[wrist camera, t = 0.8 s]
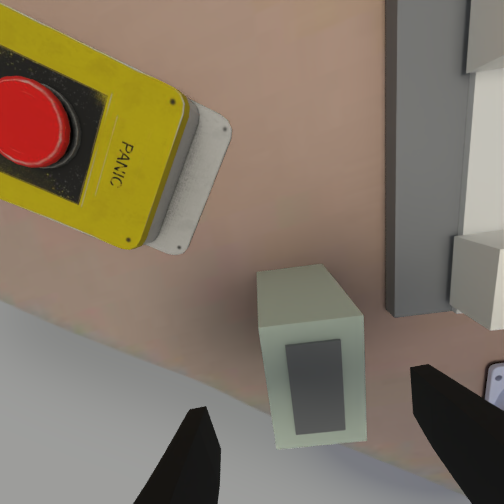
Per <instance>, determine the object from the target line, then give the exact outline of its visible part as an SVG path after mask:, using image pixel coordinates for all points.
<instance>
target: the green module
mask: <svg viewBox="0 0 504 504" xmlns="http://www.w3.org/2000/svg"><path fill="white" fill-rule="evenodd" d="M257 303H258V329H259V336H260V343H261V349H262V356H263V363H264V369H265V376H266V383H267V389H268V396H269V403H270V409H271V416H272V422H273V429H274V436H275V443H276V449H288V448H297V447H308V446H318V445H329V444H339V443H349V442H359V441H367V428H366V389H365V351H364V315H363V314H362V313H361V311H360V310H359V309H358V308H357V306H356V305H355V304H354V303H353V301H352V300H351V299H350V298H349V296H348V295H347V294H346V293H345V291H344V290H343V289H342V288H341V286H340V285H339V284H338V283H337V281H336V280H335V279H334V278H333V277H332V275H331V274H330V273H329V272H328V270H327V269H326V268H325V267H324V265H323V264H315V265H307V266H299V267H292V268H284V269H276V270H268V271H261V272H257Z"/></svg>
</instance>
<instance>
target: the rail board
mask: <svg viewBox="0 0 504 504" xmlns="http://www.w3.org/2000/svg"><path fill="white" fill-rule="evenodd" d="M386 310H387V311H388V312H389V313H390V314H391V315H392V316H393V317H394V318H396V317H404V316H413V315H421V314H430V313H438V312H447V311H453V312H454V313H456V314H460V313H464V314H465V315H467V316H468V317H470V318H471V319H473V320H474V321H476V322H478V323H479V324H481V325H482V326H484V327H485V328H487V329H488V330H490V331H492V330H501V329H504V0H386Z"/></svg>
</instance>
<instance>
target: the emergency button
mask: <svg viewBox="0 0 504 504" xmlns="http://www.w3.org/2000/svg"><path fill="white" fill-rule="evenodd" d="M231 136H232V129H231V126H230V124H229V122H228V120H227V119H225V118H224V117H223V116H222V115H221V114H219V113H217V112H215V111H213V110H211V109H209V108H207V107H205V106H203V105H201V104H199V103H196V102H194V101H192V100H190V99H188V98H187V97H186V96H184V95H183V94H182V93H181V92H180V91H179V90H177V89H175V88H174V87H172V86H170V85H168V84H166V83H164V82H162V81H160V80H158V79H156V78H154V77H151V76H149V75H147V74H145V73H143V72H141V71H139V70H137V69H135V68H133V67H131V66H129V65H127V64H125V63H123V62H121V61H119V60H117V59H115V58H113V57H111V56H109V55H107V54H105V53H102V52H100V51H98V50H96V49H94V48H92V47H90V46H88V45H86V44H84V43H82V42H80V41H78V40H76V39H74V38H72V37H70V36H68V35H66V34H64V33H62V32H60V31H58V30H56V29H53V28H51V27H49V26H47V25H45V24H43V23H41V22H39V21H37V20H35V19H33V18H31V17H29V16H27V15H25V14H23V13H21V12H19V11H17V10H15V9H13V8H11V7H9V6H6V5H4V4H2V3H0V199H2V200H4V201H6V202H9V203H11V204H14V205H16V206H19V207H21V208H24V209H26V210H28V211H31V212H33V213H36V214H38V215H41V216H43V217H45V218H48V219H50V220H53V221H55V222H58V223H60V224H63V225H65V226H67V227H70V228H72V229H75V230H77V231H80V232H82V233H84V234H87V235H89V236H92V237H94V238H97V239H99V240H101V241H104V242H106V243H109V244H111V245H114V246H116V247H119V248H121V249H128V250H130V249H135V248H137V247H140V246H142V245H144V244H145V245H148V246H150V247H152V248H155V249H157V250H160V251H162V252H164V253H167V254H172V255H178V254H182V253H184V252H185V251H186V249H187V248H188V247H189V244H190V242H191V239H192V237H193V234H194V232H195V229H196V227H197V224H198V222H199V219H200V217H201V214H202V212H203V209H204V206H205V204H206V201H207V199H208V196H209V194H210V191H211V189H212V186H213V184H214V181H215V179H216V176H217V174H218V171H219V168H220V166H221V163H222V161H223V158H224V156H225V153H226V151H227V148H228V146H229V143H230V141H231Z"/></svg>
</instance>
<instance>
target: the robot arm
mask: <svg viewBox="0 0 504 504" xmlns="http://www.w3.org/2000/svg"><path fill="white" fill-rule="evenodd" d="M410 373H411V388H412V403H413V414H414V416H415V418H416V420H417V421H418V423H419V425H420V427H421V429H422V430H423V432H424V434H425V436H426V437H427V439H428V441H429V442H430V444H431V446H432V447H433V449H434V450H435V452H436V453H437V455H438V456H439V458H440V459H441V461H442V462H443V463H444V465H445V466H446V468H447V469H448V471H449V472H450V473H451V475H452V476H453V478H454V479H455V481H456V482H457V483H458V485H459V486H460V488H461V489H462V490H463V492H464V493H465V495H466V496H467V498H468V499H469V500H470V502H471V503H472V504H504V363H497V364H493V365H491V366H490V367H489V370H488V378H487V385H486V393H485V399H483V398H482V397H480V396H478V395H477V394H475V393H474V392H472V391H470V390H469V389H467V388H466V387H464V386H462V385H461V384H459V383H458V382H456V381H455V380H453V379H451V378H450V377H448V376H447V375H445V374H443V373H442V372H440V371H439V370H437V369H436V368H434V367H432V366H431V365H429V364H426V365H421V366H415V367H410ZM220 462H221V448H220V445H219V442H218V439H217V436H216V434H215V430H214V428H213V425H212V422H211V419H210V416H209V414H208V410H207V407H206V406H205V407H200V408H195V409H190V410H189V411H188V413H187V414H186V416H185V418H184V420H183V422H182V423H181V425H180V427H179V429H178V431H177V432H176V434H175V436H174V437H173V439H172V441H171V443H170V444H169V446H168V448H167V450H166V452H165V453H164V455H163V456H162V458H161V460H160V462H159V463H158V465H157V467H156V468H155V470H154V472H153V473H152V475H151V477H150V478H149V480H148V482H147V483H146V485H145V487H144V488H143V489H142V491H141V492H140V494H139V496H138V497H137V499H136V500H135V502H134V503H133V504H218V495H219V486H220Z"/></svg>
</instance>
